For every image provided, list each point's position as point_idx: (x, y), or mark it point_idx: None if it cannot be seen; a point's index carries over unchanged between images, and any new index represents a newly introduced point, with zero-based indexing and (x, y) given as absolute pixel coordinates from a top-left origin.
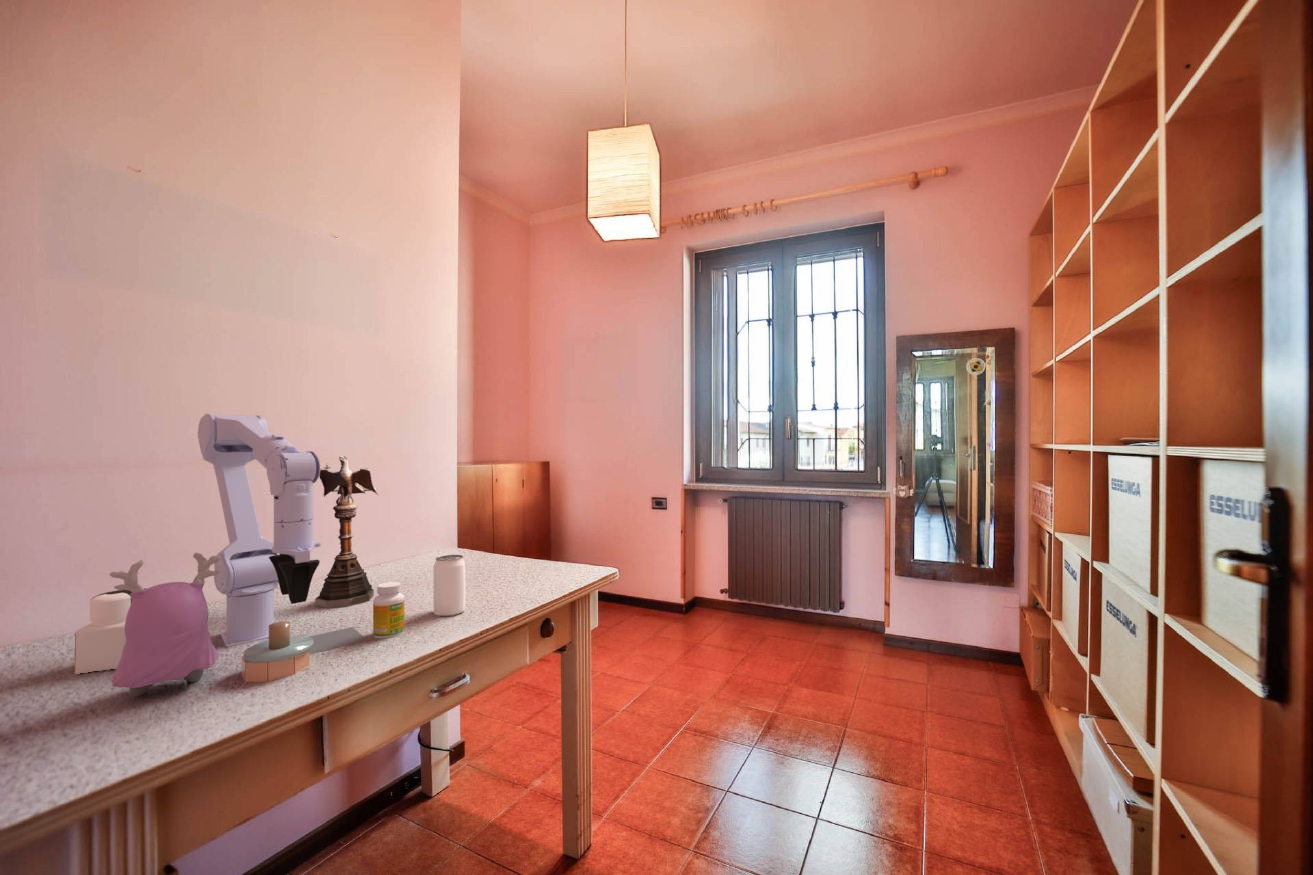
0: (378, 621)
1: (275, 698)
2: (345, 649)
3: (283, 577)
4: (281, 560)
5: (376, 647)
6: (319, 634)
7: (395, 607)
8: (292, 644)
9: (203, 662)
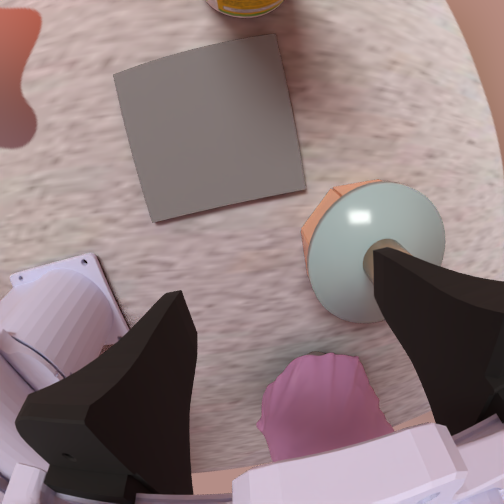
0: None
1: (474, 234)
2: (303, 91)
3: (183, 390)
4: (174, 478)
5: (337, 26)
6: (134, 157)
7: None
8: (393, 232)
9: (360, 369)
